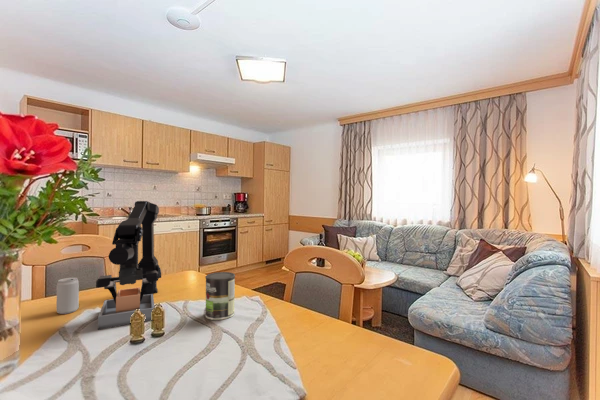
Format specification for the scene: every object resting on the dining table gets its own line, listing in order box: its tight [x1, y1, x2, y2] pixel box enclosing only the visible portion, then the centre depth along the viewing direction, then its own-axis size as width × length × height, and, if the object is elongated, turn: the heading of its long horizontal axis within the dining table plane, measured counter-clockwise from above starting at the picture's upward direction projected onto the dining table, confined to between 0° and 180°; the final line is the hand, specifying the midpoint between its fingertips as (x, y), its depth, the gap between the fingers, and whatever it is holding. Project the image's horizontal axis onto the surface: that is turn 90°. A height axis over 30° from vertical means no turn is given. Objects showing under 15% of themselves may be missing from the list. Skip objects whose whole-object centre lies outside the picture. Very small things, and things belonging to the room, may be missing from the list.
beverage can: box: [56, 277, 80, 315], centre depth 106 cm, size 6×6×12 cm
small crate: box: [116, 287, 141, 313], centre depth 103 cm, size 10×7×5 cm
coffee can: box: [204, 271, 236, 321], centre depth 103 cm, size 10×10×14 cm
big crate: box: [97, 293, 155, 331], centre depth 103 cm, size 18×16×4 cm
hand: (128, 302), depth 103 cm, fingers closed on small crate, 7 cm apart
